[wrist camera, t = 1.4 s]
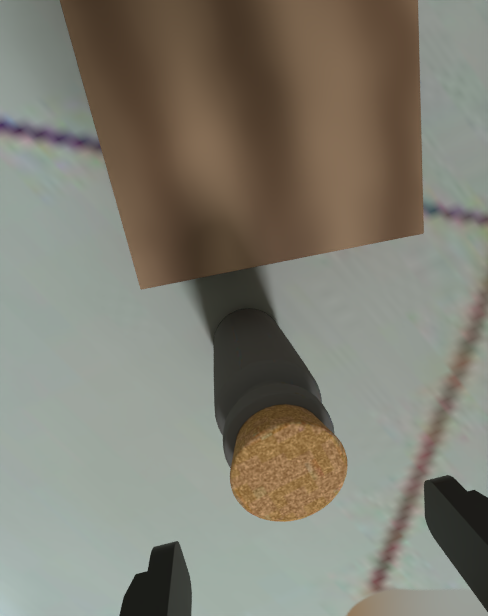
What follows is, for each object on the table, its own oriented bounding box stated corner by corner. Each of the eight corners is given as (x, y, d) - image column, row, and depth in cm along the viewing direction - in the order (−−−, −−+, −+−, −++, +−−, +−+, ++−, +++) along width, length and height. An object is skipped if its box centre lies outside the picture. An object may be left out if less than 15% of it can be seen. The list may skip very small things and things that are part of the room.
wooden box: (360, 13, 21) (416, -68, 15) (374, 232, 25) (423, 233, 19) (100, 54, 20) (55, -16, 14) (157, 275, 24) (140, 289, 18)
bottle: (207, 314, 25) (201, 427, 11) (276, 302, 26) (358, 395, 11) (220, 377, 27) (229, 548, 12) (284, 364, 27) (366, 517, 13)
